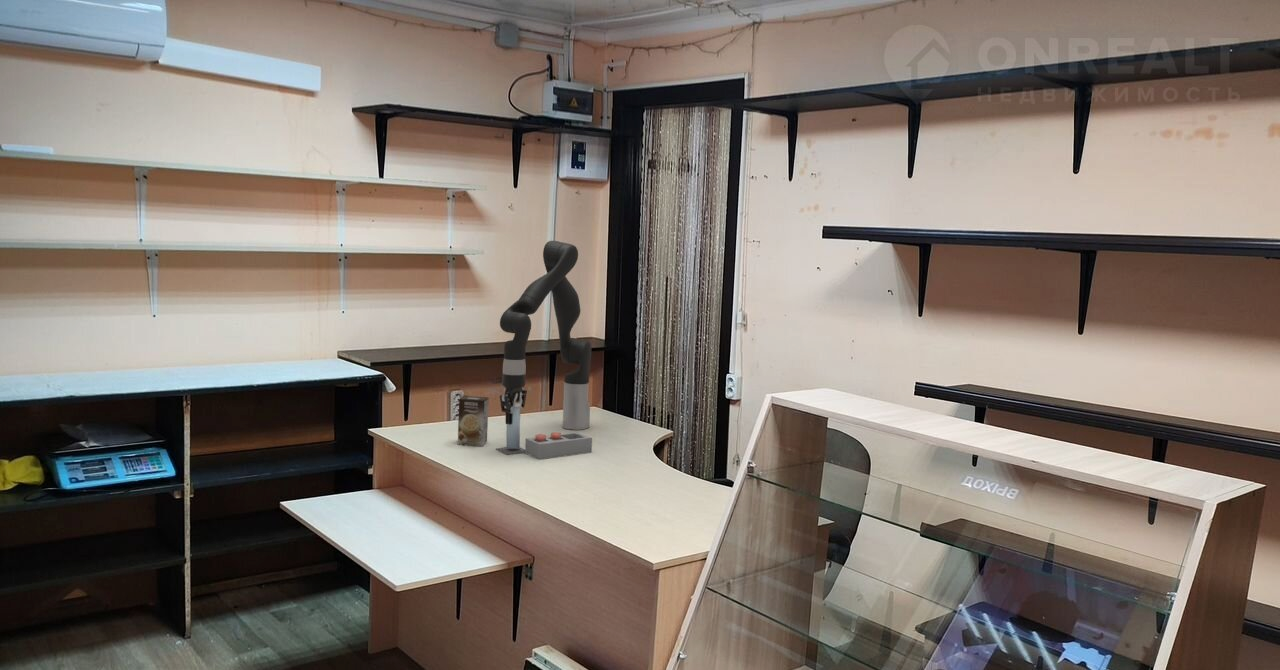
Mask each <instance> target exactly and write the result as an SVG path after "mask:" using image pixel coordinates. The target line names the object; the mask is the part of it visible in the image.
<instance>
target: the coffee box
mask: <svg viewBox="0 0 1280 670" xmlns="http://www.w3.org/2000/svg"><path fill="white" fill-rule="evenodd" d="M488 422H489V397H487V396H478V395H477V396H476V395H475V396H474V395H462V396H461V397H460V398H459V399H458V426H457V445H459V444H464V445H463V446H471V445H475V446H474V447H484V446H485V445H486V444H487V443H488V430H489V428H488V424H489V423H488ZM486 442H487V443H486ZM485 443H486V444H485ZM484 444H485V445H484ZM483 445H484V446H483Z"/></svg>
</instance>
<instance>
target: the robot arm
mask: <svg viewBox="0 0 1280 670" xmlns="http://www.w3.org/2000/svg"><path fill="white" fill-rule="evenodd" d="M542 257H543V264H544V267H545V271H546V274H544V275H543V276H541V277H539V278H537V279H535V280H534V281H532V282H531V283H530V284H529V285H528V286H526V289H525V290H524V291H523V293H522V294H521V296H519V299H518V300H516V301H515V302H514V303H513V304H512V305H510V306H509V307H508V308H507V309H506V310H505V311H504V312H503V313H502V315H501V316H500V319H499V327H500V329H501V331H502V332H504V333H509V334H514V335H513V339H511V340H507V341H506V342H504V345H503V346H504V347H503V363H502V386H503V387H504V388H505V391H504V394H501V395H500V396H499V401H500V408H501V409H500V410H501V412H502V413H505V424H506V425H507V424H512V417H513V413H512V412H513V407H514V406H515V403H516V402H520V403H521V406H520V411H522V409H524V408H525V405H526V398H527V394H528V390H527V389H523V388H524V387H525V386H526V371H527V369H526V368H527V364H526V346H527V343H528V340H529V337H530V335H531V334H530V333H531V329H532V320H531V318H530V315H534V314H535V313H536V312H537V311H538V309H539V308H540V306H541V305H542V303H543V302H544V301H545V299H546V298H547V297H548V295H549V294H550V293H551V294H552V303H553V307H554V312H555V313H554V314H555V318H556V323H557V329H558V337H559V338H558V339H559V348H560V349H559V350H560V357H561V359H562V362H563V363H564V364H569V365H579V366H578V369H577V370H575V371H571V372H568V373H565V375H564V377H563V379H564V380H563V381H564V382H563V401H562V402H563V404H562V405H563V407H562V409H563V410H562V412H563V413H562V428H564V429H566V430H571V429H572V431H573V430H574V431H575V430H576V431H577V430H578V431H579V430H585V429H588V428H590V420H591V419H590V418H591V402H589V388H590V387H589V384H590V383H589V382H590V375H591V374H590V372H591V371H590V370H591V362H592V361H591V359H592V345H591V342H590V341H589V340H583V339H573V338H571V332H572V329H573V327H574V325H575V324H576V323H577V321H578V320H579V317H580V315H581V304H580V299H579V294H578V292H577V291H576V289H575V287H574V286H573V285H572V284H571V282H570V281H569V280H568V278H567V277H566V276H567V275H568V274H569V273H570V272H571V271H572V269H573V268H574V267H575V265H576V264H577V263H578V262H577V261H578V259H579V250H578V248H577V247H576V246H575V245H574V244H572V243H567V242H562V241H558V240H548V241H547V242H546V243H545V245H544V247H543V251H542ZM509 403H512V404H509ZM509 406H510V407H509Z"/></svg>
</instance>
